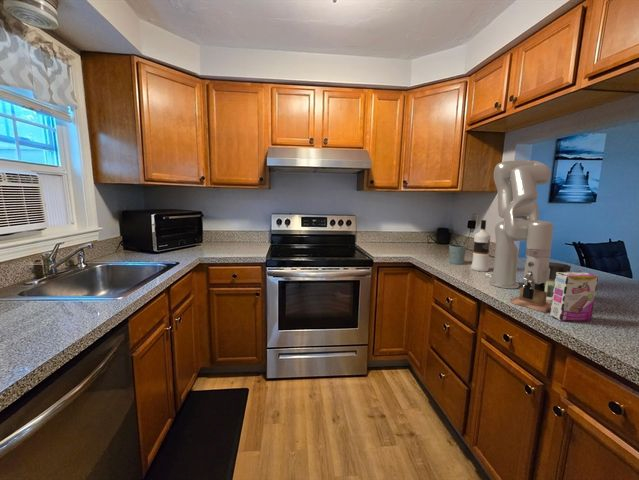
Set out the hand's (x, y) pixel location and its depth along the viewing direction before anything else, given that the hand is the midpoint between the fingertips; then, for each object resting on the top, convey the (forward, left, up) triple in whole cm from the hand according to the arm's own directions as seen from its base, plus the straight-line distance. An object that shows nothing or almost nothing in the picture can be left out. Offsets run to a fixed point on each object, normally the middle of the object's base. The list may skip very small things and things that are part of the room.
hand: (533, 296), depth 111 cm
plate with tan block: (0, 0, -4) cm, 4 cm away
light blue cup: (-61, +45, -4) cm, 77 cm away
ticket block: (0, +8, -4) cm, 9 cm away
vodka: (-43, +40, -4) cm, 60 cm away
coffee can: (-1, +21, -4) cm, 22 cm away
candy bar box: (+12, -2, -4) cm, 13 cm away
